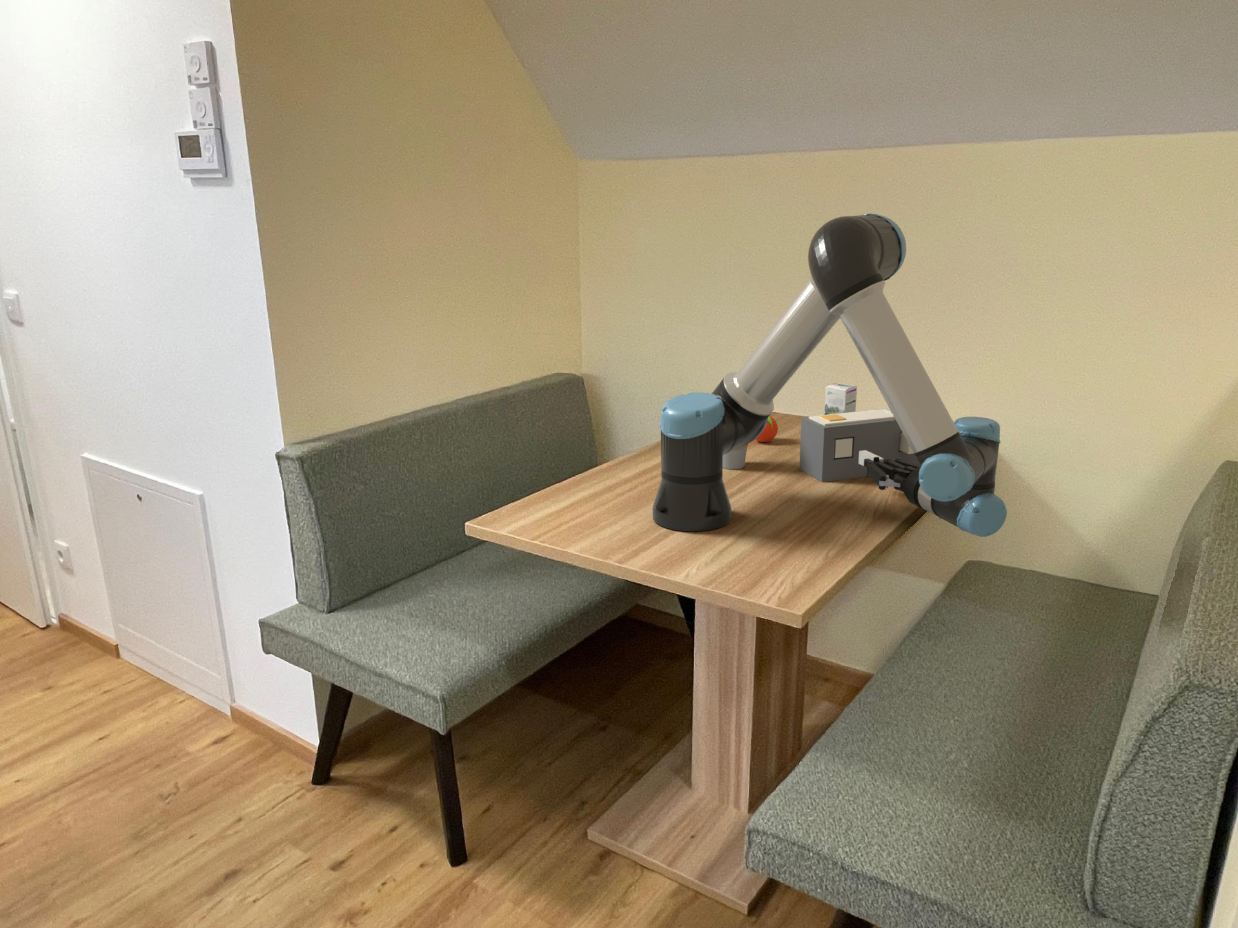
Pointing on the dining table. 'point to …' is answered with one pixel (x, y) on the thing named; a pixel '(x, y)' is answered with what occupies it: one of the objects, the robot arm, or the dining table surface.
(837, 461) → the console
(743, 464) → the coffee cup
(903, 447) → the right button
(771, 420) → the clementine
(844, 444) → the left button
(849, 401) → the syrup box
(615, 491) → the dining table surface
